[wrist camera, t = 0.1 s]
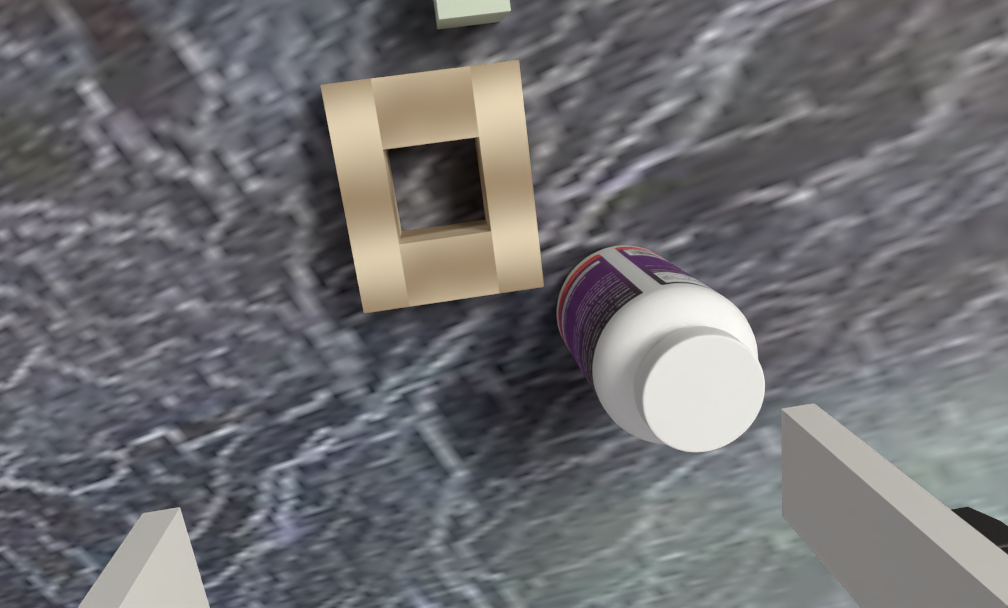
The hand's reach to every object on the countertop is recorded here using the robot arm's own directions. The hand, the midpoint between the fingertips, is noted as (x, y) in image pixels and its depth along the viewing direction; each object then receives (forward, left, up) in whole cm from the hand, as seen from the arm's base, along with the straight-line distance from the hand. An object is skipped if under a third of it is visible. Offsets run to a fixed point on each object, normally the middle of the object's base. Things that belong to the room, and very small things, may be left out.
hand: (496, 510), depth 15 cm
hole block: (-4, 0, -28) cm, 28 cm away
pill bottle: (+5, +10, -28) cm, 30 cm away
